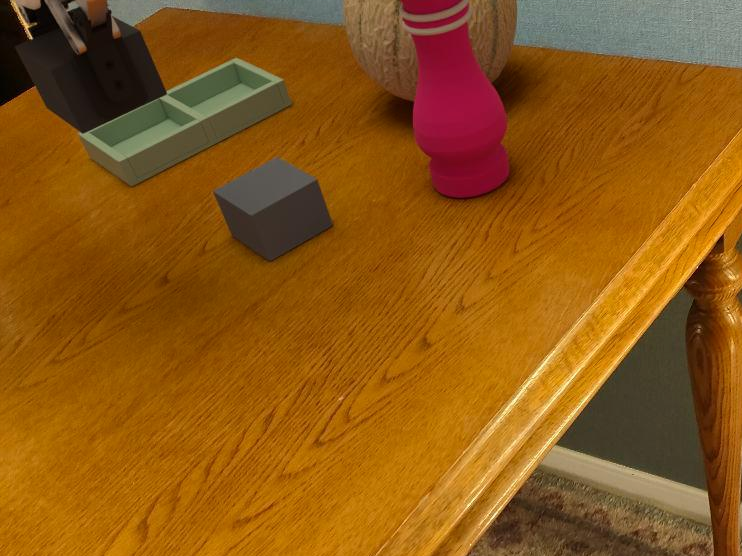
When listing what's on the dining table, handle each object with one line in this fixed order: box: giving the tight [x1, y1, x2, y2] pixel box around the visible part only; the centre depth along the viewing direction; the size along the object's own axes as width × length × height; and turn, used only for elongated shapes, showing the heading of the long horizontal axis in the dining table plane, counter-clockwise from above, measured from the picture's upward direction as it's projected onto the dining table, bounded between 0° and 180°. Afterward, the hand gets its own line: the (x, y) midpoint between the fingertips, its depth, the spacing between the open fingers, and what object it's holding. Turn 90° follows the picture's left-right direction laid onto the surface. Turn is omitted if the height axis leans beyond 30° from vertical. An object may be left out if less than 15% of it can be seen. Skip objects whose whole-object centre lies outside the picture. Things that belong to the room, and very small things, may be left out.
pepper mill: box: [399, 0, 511, 199], centre depth 73 cm, size 7×7×20 cm
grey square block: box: [212, 156, 334, 262], centre depth 78 cm, size 6×6×4 cm
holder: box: [77, 57, 293, 188], centre depth 93 cm, size 17×9×2 cm, turn 132°
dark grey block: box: [14, 15, 167, 134], centre depth 63 cm, size 6×6×4 cm
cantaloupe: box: [342, 0, 518, 103], centre depth 85 cm, size 15×15×15 cm
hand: (102, 92), depth 64 cm, fingers closed on dark grey block, 6 cm apart
